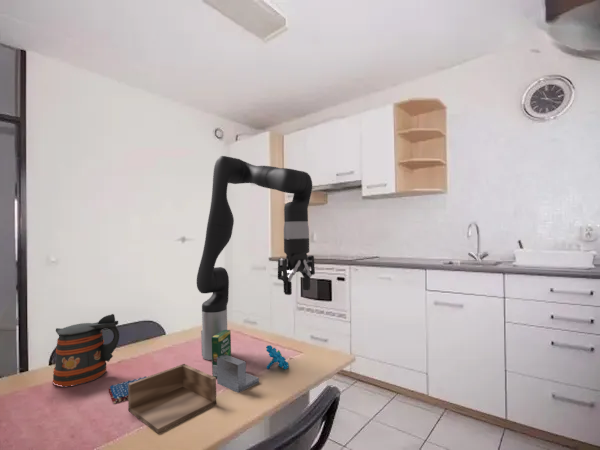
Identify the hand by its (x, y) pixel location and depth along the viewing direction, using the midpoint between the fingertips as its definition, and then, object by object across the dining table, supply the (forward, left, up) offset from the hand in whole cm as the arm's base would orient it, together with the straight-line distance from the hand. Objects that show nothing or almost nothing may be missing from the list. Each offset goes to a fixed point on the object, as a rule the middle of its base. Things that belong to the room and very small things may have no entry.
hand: (297, 292), depth 94 cm
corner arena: (-21, -28, -28) cm, 45 cm away
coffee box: (-28, -7, -28) cm, 40 cm away
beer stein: (-63, -35, -28) cm, 77 cm away
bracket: (-18, -9, -28) cm, 34 cm away
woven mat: (-40, -31, -29) cm, 58 cm away
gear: (-16, +7, -28) cm, 33 cm away
